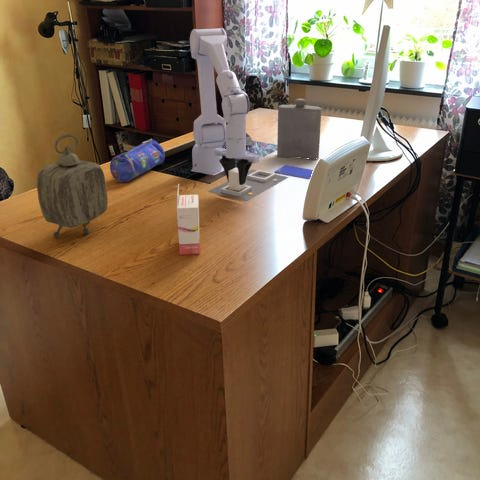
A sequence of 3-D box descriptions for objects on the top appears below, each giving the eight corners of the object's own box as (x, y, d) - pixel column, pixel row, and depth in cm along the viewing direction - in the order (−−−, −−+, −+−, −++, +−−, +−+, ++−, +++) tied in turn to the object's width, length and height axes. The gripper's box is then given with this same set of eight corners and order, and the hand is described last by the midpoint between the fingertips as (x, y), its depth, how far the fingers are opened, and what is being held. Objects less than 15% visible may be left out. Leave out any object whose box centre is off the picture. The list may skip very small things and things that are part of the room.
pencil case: (146, 162, 187) (144, 135, 183) (168, 165, 184) (166, 137, 180) (109, 182, 169) (105, 153, 165) (132, 186, 166) (129, 156, 162)
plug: (228, 188, 159) (228, 170, 157) (236, 184, 162) (236, 167, 159) (238, 190, 157) (238, 172, 155) (246, 186, 160) (246, 169, 158)
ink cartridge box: (200, 254, 124) (198, 195, 118) (179, 255, 124) (175, 196, 117) (200, 238, 132) (197, 181, 125) (179, 239, 132) (176, 182, 125)
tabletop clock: (88, 218, 143) (75, 125, 132) (114, 225, 139) (102, 130, 128) (45, 239, 132) (27, 139, 121) (72, 247, 128) (55, 145, 117)
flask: (320, 155, 192) (323, 98, 183) (317, 160, 187) (320, 102, 178) (279, 152, 196) (280, 96, 187) (275, 156, 191) (276, 100, 182)
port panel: (207, 192, 160) (207, 188, 159) (251, 170, 177) (251, 166, 177) (246, 202, 152) (246, 197, 152) (288, 178, 170) (288, 174, 170)
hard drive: (274, 171, 174) (309, 177, 168) (285, 164, 180) (319, 170, 174) (274, 175, 174) (308, 182, 169) (285, 168, 181) (319, 175, 175)
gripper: (207, 136, 153) (208, 181, 159) (249, 144, 146) (249, 191, 152) (221, 131, 158) (222, 175, 164) (263, 138, 151) (262, 184, 157)
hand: (236, 182), depth 158 cm, fingers closed on plug, 4 cm apart
